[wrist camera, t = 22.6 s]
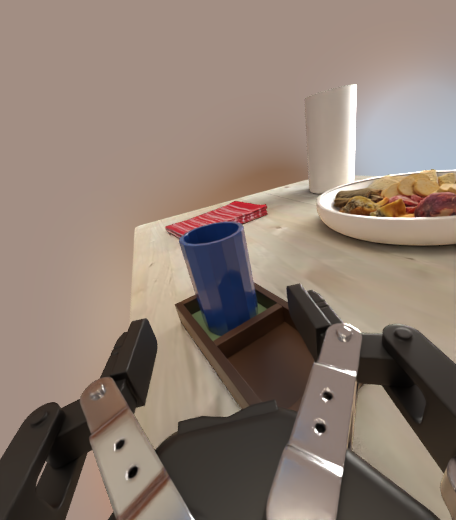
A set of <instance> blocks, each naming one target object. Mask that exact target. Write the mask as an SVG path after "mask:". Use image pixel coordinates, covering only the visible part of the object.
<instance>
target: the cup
mask: <svg viewBox="0 0 456 520" xmlns="http://www.w3.org/2000/svg"><path fill="white" fill-rule="evenodd" d="M179 243H180V246H181V250H182V253H183V256H184V259H185V262H186V266H187V269H188V272H189V275H190V278H191V282H192V285H193V288H194V291H195V294H196V298H197V301H198V304H199V307H200V310H201V314H202V317H203V320H204V323H205V325H206V327H207V329H208V330H209V331H210V332H211V333H213V334H215V335H219V336H222V335H224V334H226V333H227V332H229V331H231V330H232V329H234V328H236V327H238V326H239V325H241V324H243V323H244V322H246V321H248V320H249V319H251V318H253V317H255V316H256V315H258V314H259V312H258V304H257V299H256V293H255V287H254V282H253V276H252V271H251V265H250V260H249V254H248V249H247V243H246V238H245V232H244V227H243V225H242V224H241V223H238V222H234V221H223V222H215V223H211V224H207V225H203V226H200V227H197V228H194V229H192V230H190V231H188V232H186V233H185V234H184V235H182V236H181V237H180V240H179Z"/></svg>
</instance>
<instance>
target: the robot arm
mask: <svg viewBox="0 0 456 520" xmlns="http://www.w3.org/2000/svg"><path fill="white" fill-rule="evenodd" d="M287 299H288V308H289V313H290V316H291V319H292V321H293V322H294V324H295V326H296V328H297V330H298V331H299V333H300V335H301V337H302V339H303V341H304V342H305V344H306V346H307V348H308V350H309V352H310V353H311V355H312V357H313V359H314V361H315V362H314V363H313V366H312V369H311V372H310V375H309V378H308V382H307V385H306V388H305V391H304V394H303V398H302V401H301V404H300V407H299V410H298V412H297V411H295V410H291V409H288V408H282V407H277V404H276V400H275V399H274V400H269V401H265V402H261V403H257V404H252V405H250V406H248V407H246V408H244V409H242V410H241V411H239V412H237V413H235V414H233V415H231V416H229V417H209V416H201V417H197V418H193V419H188V420H184V421H180V422H178V431H177V432H175V433H174V434H172V435H171V436H169V437H168V438H167V439H166V440H164V441H163V442H162V443H161V444H160V445H159V446H158V448H157V449H156V450H155V449H154V448H153V446H152V444H151V443H150V441H149V439H148V437H147V436H146V434H145V432H144V431H143V429H142V427H141V426H140V424H139V422H138V420H137V419H136V417H135V415H134V413H135V409H136V408H137V407H141V406H145V402H146V398H147V393H148V389H149V384H150V380H151V375H152V371H153V367H154V362H155V358H156V353H157V340H156V337H155V335H154V333H153V330H152V328H151V326H150V324H149V321H148V320H147V319H146V318H145V319H140V320H136V321H132V322H131V324H130V327H129V329H128V332H124V333H123V334H122V335H121V336H120V337H119V339H118V340H117V342H116V344H115V346H114V349H113V351H112V353H111V356H110V358H109V359H108V362H107V364H106V366H105V369H104V370H103V373H102V375H101V377H100V379H98V380H96V381H94V382H93V383H91V384H90V385H89V386H88V387H87V388H86V389H85V391H84V392H83V393H82V395H81V398H80V399H79V400H77V401H75V402H73V403H71V404H69V405H67V406H65V407H63V408H61V407H60V406H59V405H58V404H57V403H55V402H51V403H47V404H45V405H43V406H41V407H39V408H38V409H36V410H35V411H33V412H32V413H31V414H30V415H29V416H28V417H27V419H26V420H25V421H24V422H23V424H22V425H21V427H20V428H19V430H18V432H17V433H16V435H15V436H14V438H13V440H12V441H11V443H10V445H9V446H8V448H7V449H6V451H5V453H4V455H3V456H2V458H1V459H0V520H65V519H66V516H67V513H68V510H69V507H70V504H71V501H72V498H73V494H74V492H75V489H76V486H77V483H78V480H79V477H80V474H81V471H82V467H83V465H84V462H85V459H86V456H87V453H88V452H89V451H91V450H93V453H94V456H95V458H96V462H97V464H98V467H99V470H100V473H101V476H102V479H103V482H104V485H105V488H106V491H107V494H108V497H109V499H110V503H111V505H112V508H113V513H112V515H111V516H110V518H109V519H108V520H440V519H439V518H438V517H437V516H436V515H435V514H434V513H432V512H431V511H430V510H429V509H428V508H426V507H425V506H424V505H422V504H421V503H420V502H418V501H417V500H416V499H414V498H413V497H412V496H411V495H409V494H408V493H407V492H405V491H404V490H403V489H401V488H400V487H399V486H397V485H396V484H395V483H393V482H392V481H391V480H390V479H388V478H387V477H386V476H384V475H383V474H382V473H380V472H379V471H378V470H376V469H375V468H374V467H372V466H371V465H370V464H369V463H367V462H366V461H365V460H363V459H362V458H361V457H359V456H358V455H357V454H355V453H354V452H353V451H352V444H353V434H354V423H355V414H356V406H357V398H358V389H359V383H363V384H376V385H382V386H383V388H384V389H385V391H386V392H387V393H388V395H389V396H390V398H391V399H392V401H393V402H394V403H395V405H396V406H397V408H398V409H399V411H400V412H401V413H402V415H403V416H404V418H405V419H406V420H407V422H408V423H409V425H410V426H411V428H412V429H413V430H414V432H415V433H416V435H417V436H418V438H419V439H420V440H421V442H422V443H423V445H424V446H425V447H426V449H427V450H428V452H429V453H430V455H431V456H432V457H433V459H434V460H435V462H436V463H437V465H438V466H439V467H440V469H441V470H442V472H443V473H444V475H443V478H442V480H441V484H440V491H441V495H442V498H443V500H444V502H445V504H446V506H447V508H448V510H449V512H450V514H451V517H452V520H456V364H455V363H454V362H453V361H452V360H451V359H449V358H448V357H447V356H446V355H445V354H444V353H443V352H442V351H441V350H439V349H438V348H437V347H436V346H435V345H434V344H433V343H432V342H430V341H429V340H428V339H427V338H426V337H425V336H424V335H423V334H421V333H420V332H419V331H418V330H416V329H414V328H412V327H410V326H407V325H403V324H391V325H388V326H386V327H385V328H384V329H383V334H378V333H361V332H360V331H359V330H358V329H357V328H355V327H354V326H352V325H349V324H344V322H343V321H342V320H341V319H340V318H339V317H338V315H337V314H336V313H335V312H334V311H333V309H332V308H331V307H330V306H329V305H328V304H327V302H326V301H325V300H324V299H323V298H322V296H321V295H320V294H318V293H316V292H315V291H313V290H309V291H306V290H305V289H304V288H303V286H302V285H301V284H295V285H291V286H287ZM45 461H46V462H47V464H46V466H45V469H44V471H43V473H42V475H41V478H40V480H39V482H38V484H37V486H36V482H37V479H38V476H39V474H40V472H41V470H42V467H43V465H44V463H45Z"/></svg>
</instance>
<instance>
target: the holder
mask: <svg viewBox="0 0 456 520" xmlns="http://www.w3.org/2000/svg"><path fill="white" fill-rule="evenodd" d="M254 287H255V293H256V299H257V304H258V312H259V314H258V315H256V316H255V317H253V318H251V319H249V320H248V321H246V322H244V323H243V324H241V325H239V326H238V327H236V328H234V329H232V330H231V331H229V332H227V333H226V334H224V335H222V336H219V335H215V334H213V333H211V332H210V331H209V330H208V329H207V327H206V325H205V323H204V320H203V317H202V314H201V310H200V307H199V304H198V301H197V298H196V295H194V296H192V297H189V298H187V299H185V300H183V301H181V302H179V303H177V304H175V307H176V309H177V312H178V315H179V318H180V320H181V322H182V324H183V325H184V327H185V328H186V330H187V331H188V333H189V334H190V335H191V337H192V338H193V340H194V341H195V343H196V344H197V345H198V347H199V348H200V350H201V351H202V353H203V354H204V356H205V357H206V358H207V360H208V361H209V363H210V364H211V366H212V367H213V369H214V370H215V371H216V373H217V374H218V376H219V377H220V379H221V380H222V382H223V383H224V384H225V386H226V387H227V389H228V390H229V392H230V393H231V394H232V396H233V397H234V399H235V400H236V402H237V403H238V405H239V406H240V407H241V409H244V408H246V407H248V406H250V405H252V404H257V403H261V402H265V401H269V400H274V399H275V400H276V404H277V407H282V408H288V409H291V410H295V411H297V412H298V410H299V407H300V404H301V401H302V398H303V394H304V391H305V388H306V385H307V382H308V378H309V375H310V372H311V369H312V366H313V363H314V362H315V361H314V359H313V357H312V355H311V353H310V352H309V350H308V348H307V346H306V344H305V342H304V341H303V339H302V337H301V335H300V333H299V331H298V330H297V328H296V326H295V324H294V322H293V321H292V319H291V316H290V313H289V308H288V302H286V301H285V300H283V299H281V298H279V297H278V296H276V295H274V294H273V293H271V292H269V291H268V290H266V289H264V288H263V287H261V286H259V285H258V284H256V283H254ZM362 385H363V383H359V388H360V387H361V386H362Z"/></svg>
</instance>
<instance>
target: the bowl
mask: <svg viewBox="0 0 456 520" xmlns="http://www.w3.org/2000/svg"><path fill="white" fill-rule="evenodd" d="M316 206H317V212H318V215H319V217H320V218H321V220H322V221H323V222H324V223H325V224H326V225H327V226H328V227H330V228H331V229H333V230H335V231H337V232H339V233H341V234H343V235H346V236H349V237H353V238H356V239H360V240H365V241H371V242H377V243H385V244H396V245H447V244H456V170H445V171H444V170H442V171H436V170H434V169H431V170H425V171H421V172H414V173H404V174H396V175H387V176H381V177H375V178H370V179H365V180H360V181H356V182H352V183H348V184H344V185H341V186H338V187H335V188H332V189H330V190H328V191H326V192H324V193H323V194H321V195H320V196H319V197H318V198H317V200H316Z"/></svg>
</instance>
